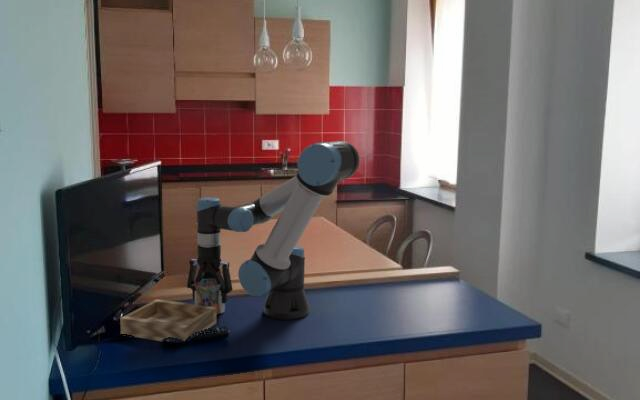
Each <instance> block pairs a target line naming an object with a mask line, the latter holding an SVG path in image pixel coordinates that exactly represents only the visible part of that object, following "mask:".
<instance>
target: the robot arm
mask: <svg viewBox="0 0 640 400" xmlns="http://www.w3.org/2000/svg"><path fill="white" fill-rule="evenodd" d="M296 166H297V169H298V170H297V173H296V175H295V176H294V177H292V178H290V179H288V180H286V181H285V182H284V183H282V184H280V185H279V186H277V187H275V188H274V189H272V190H270V191H269V192H267V193H265V194H264V195H262V196H261V197H258V199H256V200H254V201H252V202H249V203H245V204H241V205H236V206H227V205H226V206H225V205H222V204H221V199H220V198H218V197H213V196H212V197H210V196H209V197H208V196H207V197H202V198H201V197H200V198H199V199H198V200H197V204H196V205H197V206H196V219H197V220H196V221H197V222H196V223H197V225H196V226H197V228H196V229H197V233H196V235H197V237H196V238H197V239H196V240H197V242H196V243H197V259H196V258H192V259H190V260H189V261H188V263H189V272H188V273H189V274H188V277H187V278H188V279H187V285H186V288H187V289H191V291H192V300H194V304H196V305H198V294H197V290H196V288H195V286H194V283H195V282H196V281H197V282H200V281H201V280H202V279H204V276H205V275H206V273H210V274H211V275H212V277H214V279H215V280H216V282H217V284H218V285H220V284H221V287H220V292H219V311H220V313H219V314H223V313H225V312H226V304H227V302H228V294H229V293H231V292H233V283H232V279H231V273H230V262H228V261H227V262H224V261H222V259H221V254H222V252H221V251H222V248H221V243H222V242H221V241H222V240H221V239H222V238H221V230H226V231H230V232H236V233H248V231H250V229H251V228H252V227H253V226H256V225H261V224H264V223H267V222H269V221H271V219H272V218H273V217H274V216H276V215H277V214H279V213H281V214H280V215H279V217H278V218H277V221H276V222H275V224H274V226H273V227H272V230H271V231H270V233H269V235H268V237H267V238H266V241H265V242H264V243H262V244H259V245H257V247H256V249H255V251H254V252H253V254H252V256H251V258H250V259H248V260H245V261H244V262H242V264H241V265H240V266H239V268H238V272H237V273H238V274H237V275H238V279H239V283H240V285H241V287H242V288H243V290H244V291H245V292H246V293H248V294H249V295H250V296H253V297H262V296H266V295H267V296H266V299H265V302H264V304H263V305H264V306H263V313H264V315H266V316H267V317H268V318H272V319H276V320H296V319H301V318H304V317H306V316H308V315H309V312H310V305H309V302H308V299H307V295H306V292H305V259H306V256H305V250H304V248H303V247H302V246H299V245H297V244H298V243H299V240H300V239H301V237H302V235H303V234H304V232H305V230H306V228H307V227H308V225H309V223H310V221H311V219H312V218H313V216H314V215H315V213H316V211H317V209H318V208H319V205H320V204H321V202H322V201H323V198H326V197H330V196H332V194H333V192H334V190H335V189H336V187H337V185H338V183H339V182H342V181H344V180H347V179H349V178H350V177H353V176H354V174H356V172H357V171H358V169H359V166H360V156H359V152H358V149H357V148H356V147H355V146H354V145H352V144H351V143H350V142H348V141H344V140H336V141H328V142H327V141H326V142H325V141H320V142H319V141H318V142H316V143H313V144H310V145H308V146H307V147H305V148H304V149H303V150H302V151H301V152H300V154H299V156H298V160H297V165H296ZM198 266H199V270H198V273H197V268H198ZM220 268H221V269H222V271H221V269H220ZM221 272H222V274H221ZM196 273H197V275H196Z"/></svg>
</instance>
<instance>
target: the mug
mask: <svg viewBox="0 0 640 400" xmlns="http://www.w3.org/2000/svg"><path fill="white" fill-rule="evenodd" d="M194 282H195V281H194ZM194 286H195V288H196V290H197V294H198V305H203V306H210V307H216V316H217V315H219V314H221V313H220V311H219V294H220V293H221V292H220V287H221V284H220V285H218V284H217V282H216V280H215V278H202V280H201V281H200V282H197V281H196V282H195V283H194Z"/></svg>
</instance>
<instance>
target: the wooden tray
mask: <svg viewBox="0 0 640 400" xmlns="http://www.w3.org/2000/svg"><path fill="white" fill-rule="evenodd" d="M217 320H218V319H217V315H216V307H210V306H203V305H196V304H195V303H194V304H193V303H187V302H180V301H173V300H165V299H157V298H156V299H154V300H152V301H150V302H148V303H147V304H145V305H143V306H141V307H138V308H136V309H135V310H133V311H132V312H130V313H127V314H126V315H124V316H122V317H120V319H119V321H120V322H119V324H120V335H121V334H127V335H132V336H134V338H140V339H145V340H152V341H157V342H158V341H159V342H163V341H162V340H163V339H164V338H168V337H173V338H178V339H181V340H183V341H185V340H186V339H187V338H188V337H189V336H191V335H192V334H193V333H195V332H197V331H200V330H204V329H207V330H209V329H210V328H212V327H213V326H215V325H216V324H217ZM208 328H209V329H208ZM132 336H131V337H132Z"/></svg>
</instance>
